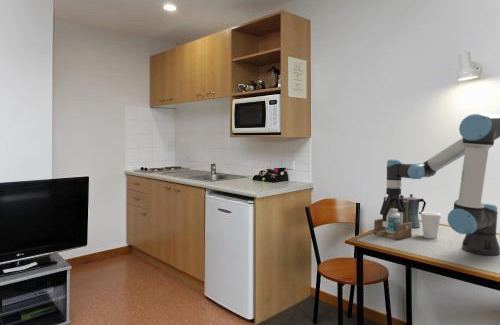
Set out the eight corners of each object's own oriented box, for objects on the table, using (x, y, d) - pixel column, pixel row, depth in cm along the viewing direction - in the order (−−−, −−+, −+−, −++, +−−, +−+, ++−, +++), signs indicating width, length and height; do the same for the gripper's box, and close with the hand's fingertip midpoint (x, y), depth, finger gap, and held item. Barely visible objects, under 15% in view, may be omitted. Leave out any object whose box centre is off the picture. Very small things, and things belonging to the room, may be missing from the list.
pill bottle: (382, 231, 190) (382, 208, 190) (392, 230, 193) (393, 207, 192) (392, 235, 183) (392, 210, 183) (402, 233, 186) (403, 209, 185)
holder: (412, 237, 185) (413, 222, 184) (399, 240, 178) (400, 225, 178) (385, 230, 199) (386, 217, 198) (372, 233, 192) (373, 219, 192)
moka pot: (404, 223, 217) (404, 192, 216) (429, 227, 205) (430, 195, 204) (396, 225, 211) (397, 193, 210) (422, 230, 199) (423, 196, 198)
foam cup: (426, 239, 181) (426, 215, 180) (417, 234, 190) (418, 211, 190) (443, 239, 181) (444, 215, 180) (434, 234, 190) (434, 211, 190)
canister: (404, 226, 208) (405, 194, 206) (410, 231, 197) (411, 197, 196) (386, 226, 209) (386, 194, 208) (391, 230, 198) (392, 197, 197)
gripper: (400, 185, 197) (399, 221, 198) (373, 188, 183) (372, 226, 184) (413, 186, 190) (412, 223, 192) (385, 190, 177) (384, 229, 178)
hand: (392, 225), depth 188 cm, fingers open, 13 cm apart
